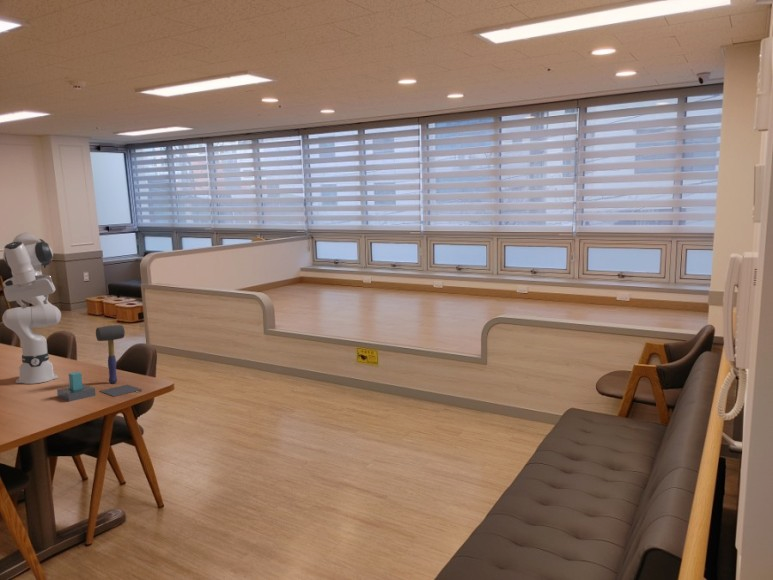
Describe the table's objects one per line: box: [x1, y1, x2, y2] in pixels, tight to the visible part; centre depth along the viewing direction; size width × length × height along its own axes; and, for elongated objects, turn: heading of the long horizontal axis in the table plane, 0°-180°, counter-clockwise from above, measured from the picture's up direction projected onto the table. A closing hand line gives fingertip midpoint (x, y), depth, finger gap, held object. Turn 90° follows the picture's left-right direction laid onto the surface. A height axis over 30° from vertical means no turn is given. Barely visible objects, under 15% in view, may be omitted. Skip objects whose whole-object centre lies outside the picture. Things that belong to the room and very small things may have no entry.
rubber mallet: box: [95, 324, 125, 384], centre depth 293 cm, size 12×8×30 cm, turn 131°
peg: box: [68, 371, 83, 391], centre depth 271 cm, size 4×4×11 cm
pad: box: [99, 384, 143, 398], centre depth 280 cm, size 14×14×1 cm
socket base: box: [56, 383, 96, 402], centre depth 271 cm, size 12×12×4 cm
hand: (35, 306), depth 265 cm, fingers open, 8 cm apart
